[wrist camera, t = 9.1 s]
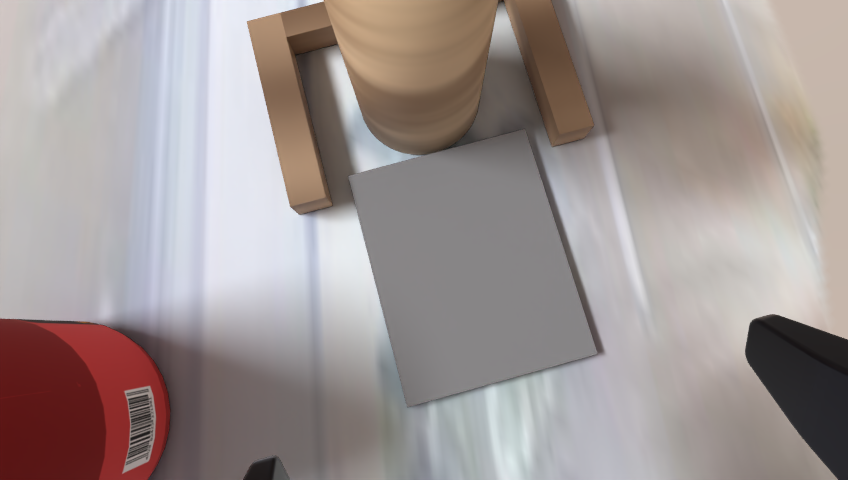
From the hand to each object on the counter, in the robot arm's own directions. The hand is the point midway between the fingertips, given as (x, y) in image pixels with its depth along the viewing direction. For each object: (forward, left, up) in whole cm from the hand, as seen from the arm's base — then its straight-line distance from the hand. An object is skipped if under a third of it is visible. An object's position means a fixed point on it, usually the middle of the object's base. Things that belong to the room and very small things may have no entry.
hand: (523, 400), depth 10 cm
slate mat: (+4, -1, -12) cm, 13 cm away
